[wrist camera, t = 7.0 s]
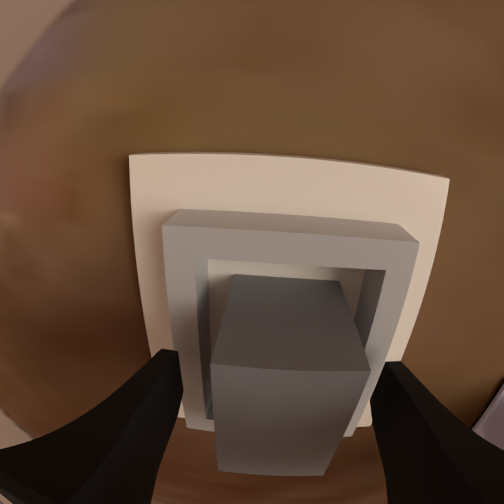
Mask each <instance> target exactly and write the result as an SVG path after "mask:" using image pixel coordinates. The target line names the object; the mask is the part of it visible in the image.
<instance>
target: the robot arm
mask: <svg viewBox="0 0 504 504" xmlns="http://www.w3.org/2000/svg"><path fill="white" fill-rule="evenodd" d="M183 392H184V388H183V382H182V375H181V368H180V361H179V354H178V351H175V350H168V349H160V350H159V351H158V352H157V353H156V354H155V355H154V356H153V357H152V358H151V359H150V360H149V361H148V362H147V363H146V364H145V365H144V366H143V367H142V368H141V369H139V370H138V371H137V372H136V373H135V374H134V375H133V376H132V377H131V378H130V379H129V380H128V381H126V382H125V383H124V384H123V385H122V386H121V387H120V388H119V389H117V390H116V391H115V392H114V393H112V394H111V395H110V396H109V397H108V398H106V399H105V400H104V401H103V402H101V403H100V404H98V405H97V406H96V407H94V408H93V409H91V410H90V411H88V412H87V413H85V414H84V415H82V416H81V417H79V418H78V419H76V420H74V421H72V422H71V423H69V424H67V425H65V426H63V427H61V428H59V429H57V430H55V431H53V432H51V433H49V434H46V435H44V436H42V437H39V438H37V439H34V440H31V441H28V442H25V443H22V444H19V445H15V446H12V447H8V448H4V449H0V494H2V495H3V496H4V497H5V498H7V499H8V500H9V501H10V502H12V503H13V504H151V499H152V494H153V490H154V485H155V481H156V476H157V472H158V469H159V466H160V463H161V460H162V457H163V454H164V452H165V449H166V446H167V444H168V441H169V438H170V436H171V433H172V430H173V428H174V425H175V422H176V419H177V417H178V413H179V409H180V405H181V401H182V396H183ZM370 407H371V416H372V423H373V427H374V431H375V435H376V439H377V443H378V447H379V451H380V455H381V459H382V464H383V468H384V472H385V478H386V486H387V498H388V504H504V384H503V385H502V387H501V388H500V390H499V392H498V393H497V395H496V396H495V398H494V399H493V401H492V402H491V404H490V405H489V407H488V408H487V409H486V411H485V412H484V414H483V415H482V416H481V418H480V419H479V420H478V422H477V423H476V424H475V426H474V427H473V428H472V430H471V429H470V428H469V427H467V426H466V425H465V424H464V423H462V422H461V421H460V420H459V419H458V418H456V417H455V416H454V415H453V414H452V413H451V412H450V411H449V410H448V409H447V408H446V407H445V406H443V405H442V404H441V403H440V402H439V401H438V400H437V399H436V398H435V397H434V396H433V395H432V394H431V393H430V391H429V390H428V389H427V388H426V387H425V386H424V385H423V384H422V383H421V382H420V381H419V380H418V379H417V378H416V377H415V376H414V375H413V373H412V372H411V371H410V370H409V369H408V368H407V367H406V366H405V365H404V364H403V363H402V362H401V361H387V362H385V363H384V366H383V368H382V371H381V373H380V376H379V378H378V381H377V383H376V386H375V388H374V390H373V393H372V395H371V397H370ZM0 504H3V503H2V502H1V501H0Z"/></svg>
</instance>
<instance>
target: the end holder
mask: <svg viewBox="0 0 504 504" xmlns="http://www.w3.org/2000/svg"><path fill="white" fill-rule="evenodd" d="M129 168H130V192H131V209H132V222H133V234H134V245H135V254H136V263H137V272H138V279H139V287H140V294H141V301H142V307H143V314H144V320H145V325H146V331H147V337H148V342H149V347H150V352H151V357H153V356H154V355H155V354H156V353H157V352H158V351H159V350H160V349H168V350H175V351H178V354H179V361H180V368H181V375H182V382H183V388H184V392H183V396H182V401H181V405H180V409H179V413H178V417H181V418H185V420H186V425H187V428H192V429H199V430H206V431H213V432H215V430H214V417H213V402H212V386H211V369H210V363H211V359H212V355H213V352H214V348H215V344H216V341H217V337H218V333H219V330H220V326H221V322H222V319H223V315H224V311H225V308H226V304H227V300H228V297H229V293H230V290H231V286H232V282H233V279H234V275H235V274H244V275H257V276H272V277H286V278H302V279H318V280H334V281H339V282H340V284H341V287H342V289H343V292H344V295H345V297H346V300H347V303H348V305H349V308H350V311H351V314H352V316H353V319H354V322H355V325H356V328H357V330H358V333H359V336H360V339H361V342H362V345H363V348H364V351H365V354H366V357H367V360H368V363H369V366H370V369H371V373H370V375H369V378H368V380H367V383H366V385H365V388H364V390H363V393H362V395H361V398H360V400H359V402H358V405H357V407H356V409H355V412H354V414H353V416H352V418H351V421H350V423H349V425H348V427H347V429H346V431H345V434H344V436H343V437H348V436H352V435H353V433H354V431H355V429H356V427H365V426H370V425H371V423H372V416H371V407H370V397H371V395H372V393H373V390H374V388H375V386H376V383H377V381H378V378H379V376H380V373H381V371H382V368H383V366H384V363H385V362H387V361H401V358H402V356H403V353H404V351H405V348H406V346H407V343H408V340H409V338H410V335H411V332H412V329H413V327H414V324H415V321H416V318H417V315H418V312H419V309H420V306H421V303H422V300H423V296H424V293H425V290H426V286H427V283H428V279H429V276H430V272H431V269H432V265H433V261H434V257H435V253H436V249H437V244H438V240H439V236H440V231H441V226H442V221H443V216H444V211H445V205H446V200H447V193H448V187H449V180H450V179H448V178H445V177H442V176H440V175H436V174H431V173H425V172H420V171H414V170H409V169H403V168H396V167H390V166H383V165H376V164H369V163H362V162H354V161H345V160H336V159H327V158H317V157H305V156H293V155H279V154H261V153H237V152H152V153H137V154H133V155H129Z"/></svg>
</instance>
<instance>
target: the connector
mask: <svg viewBox="0 0 504 504" xmlns="http://www.w3.org/2000/svg"><path fill="white" fill-rule="evenodd" d="M210 369H211V386H212V402H213V417H214V430H215V443H216V454H217V465H218V471H224V472H233V473H243V474H256V475H274V476H323V475H324V473H325V471H326V469H327V467H328V465H329V463H330V462H331V460H332V458H333V456H334V454H335V452H336V450H337V448H338V446H339V444H340V442H341V440H342V438H343V436H344V434H345V431H346V429H347V427H348V425H349V423H350V421H351V418H352V416H353V414H354V412H355V409H356V407H357V405H358V402H359V400H360V398H361V395H362V393H363V390H364V388H365V385H366V383H367V380H368V378H369V375H370V373H371V369H370V366H369V363H368V360H367V357H366V354H365V351H364V348H363V345H362V342H361V339H360V336H359V333H358V330H357V328H356V325H355V322H354V319H353V316H352V314H351V311H350V308H349V305H348V303H347V300H346V297H345V295H344V292H343V289H342V287H341V284H340V282H339V281H334V280H318V279H302V278H286V277H272V276H257V275H244V274H235V275H234V279H233V282H232V286H231V290H230V293H229V297H228V300H227V304H226V308H225V311H224V315H223V319H222V322H221V326H220V330H219V333H218V337H217V341H216V344H215V348H214V352H213V355H212V359H211V363H210Z"/></svg>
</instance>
